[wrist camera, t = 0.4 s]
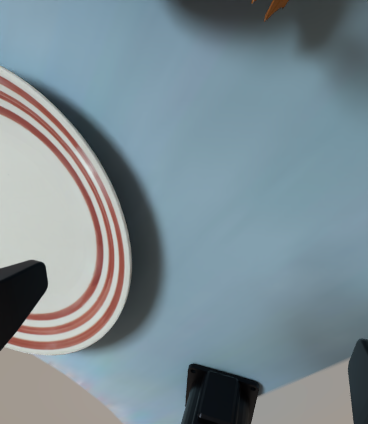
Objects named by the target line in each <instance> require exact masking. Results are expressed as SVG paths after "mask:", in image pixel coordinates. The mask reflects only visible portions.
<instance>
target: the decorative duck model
mask: <svg viewBox="0 0 368 424" xmlns="http://www.w3.org/2000/svg"><path fill="white" fill-rule="evenodd" d="M254 1H256V0H252V4H253V3H254ZM288 1H289V0H273V1H272V3H271V5H270V7H269V9H268V11H267V13H266V15H265V19H264V22H265V21H266V20H267V19H268V18H269V17H270V16H271V15H272V14H273V13H275V12H276V11H277V10H278V9H279V8H281V7H282V8H284V7H285V5H286V4H287V2H288Z"/></svg>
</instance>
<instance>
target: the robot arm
mask: <svg viewBox="0 0 368 424" xmlns="http://www.w3.org/2000/svg"><path fill="white" fill-rule="evenodd" d="M47 288H48V278H47V271H46V266H45V264H44V263H43V262H41V261H37V260H27V261H24V262H21V263H17V264H14V265H10V266H7V267H3V268H0V351H1V350H2V349H3V347H4V346H5V345H6V344H7V343H8V342H9V340H10V339H11V338H12V337H13V336H14V334H15V333H16V332H17V331H18V329H19V328H20V327H21V325H22V324H23V323H24V321H25V320H26V318H27V317H28V316H29V314H30V313H31V311H32V310H33V309H34V307H35V306H36V305H37V303H38V302H39V300H40V299H41V298H42V296H43V295H44V293H45V292H46V290H47ZM348 375H349V384H350V393H351V402H352V412H353V421H354V424H368V340H367V339H359V340H358V341H357V343H356V346H355V348H354V351H353V353H352V356H351V358H350V361H349V365H348ZM258 391H259V385H258V383H257V382H255V381H252V380H248V379H245V378H241V377H238V376H234V375H231V374H227V373H224V372H220V371H217V370H213V369H210V368H206V367H203V366H199V365H196V364H190V365H189V368H188V377H187V391H186V404H185V407H186V408H185V411H184V415H183V419H182V422H181V424H251V421H252V417H253V412H254V408H255V404H256V400H257V395H258Z"/></svg>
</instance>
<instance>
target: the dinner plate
mask: <svg viewBox="0 0 368 424" xmlns="http://www.w3.org/2000/svg"><path fill="white" fill-rule="evenodd" d="M27 260H37V261H41V262H43V263H44V264H45V266H46V271H47V278H48V288H47V290H46V292H45V293H44V295H43V296H42V298H41V299H40V300H39V302H38V303H37V305H36V306H35V307H34V309H33V310H32V311H31V313H30V314H29V316H28V317H27V318H26V320H25V321H24V323H23V324H22V325H21V327H20V328H19V329H18V331H17V332H16V333H15V334H14V336H13V337H12V338H11V339H10V340H9V342H8V343H7V344H6V345H5V346H4V347H6V348H9V349H12V350H17V351H20V352H25V353H29V354H37V355H62V354H69V353H73V352H77V351H79V350H82V349H84V348H86V347H89V346H90V345H92V344H94V343H95V342H97V341H98V340H99V339H101V338H102V337H103V336H104V335H105V334H106V333H107V332H108V331H109V330H110V329H111V328H112V326H113V325H114V324H115V322H116V321H117V319H118V318H119V316H120V314H121V312H122V310H123V308H124V305H125V303H126V300H127V297H128V293H129V289H130V283H131V275H132V254H131V244H130V240H129V233H128V229H127V225H126V221H125V217H124V214H123V211H122V208H121V205H120V202H119V199H118V197H117V195H116V192H115V190H114V188H113V185H112V183H111V181H110V179H109V177H108V175H107V174H106V172H105V170H104V168H103V166H102V165H101V163H100V161H99V159H98V158H97V156H96V155H95V153H94V152H93V150H92V149H91V147H90V146H89V145H88V143H87V142H86V140H85V139H84V138H83V137H82V135H81V134H80V133H79V131H78V130H77V129H76V128H75V126H74V125H73V124H72V123H71V122H70V121H69V120H68V119H67V118H66V117H65V116H64V115H63V113H62V112H61V111H60V110H59V109H58V108H57V107H56V106H55V105H54V104H52V103H51V102H50V101H49V100H48V99H47V98H46V97H45V96H44V95H42V94H41V93H40V92H39V91H37V90H36V89H35V88H34V87H32V86H31V85H30V84H29V83H27V82H26V81H24V80H23V79H21V78H20V77H19V76H17V75H16V74H14V73H12V72H11V71H9V70H7V69H6V68H4V67H2V66H0V268H3V267H7V266H10V265H14V264H17V263H21V262H24V261H27Z"/></svg>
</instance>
